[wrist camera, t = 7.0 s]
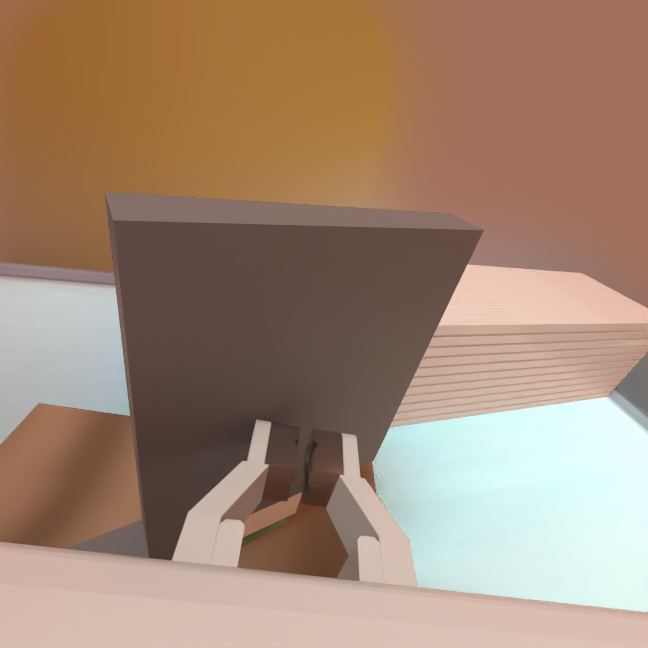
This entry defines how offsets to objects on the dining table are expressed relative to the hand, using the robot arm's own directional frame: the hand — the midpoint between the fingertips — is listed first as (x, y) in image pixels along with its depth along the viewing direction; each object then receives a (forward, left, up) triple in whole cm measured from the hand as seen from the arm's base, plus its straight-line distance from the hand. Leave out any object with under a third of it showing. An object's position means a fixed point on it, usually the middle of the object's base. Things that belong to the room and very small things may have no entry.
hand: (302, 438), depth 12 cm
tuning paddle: (-4, -3, -9) cm, 10 cm away
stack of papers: (+7, +29, -12) cm, 32 cm away
